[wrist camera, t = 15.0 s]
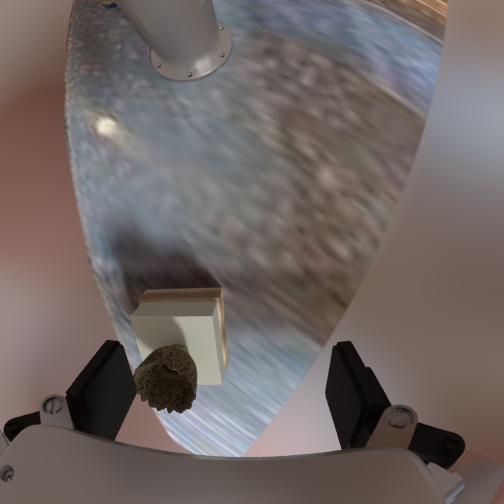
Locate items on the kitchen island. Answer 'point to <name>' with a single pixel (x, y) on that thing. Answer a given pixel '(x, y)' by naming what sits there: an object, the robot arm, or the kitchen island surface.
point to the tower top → (183, 334)
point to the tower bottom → (192, 296)
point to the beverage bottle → (109, 4)
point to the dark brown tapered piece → (167, 379)
